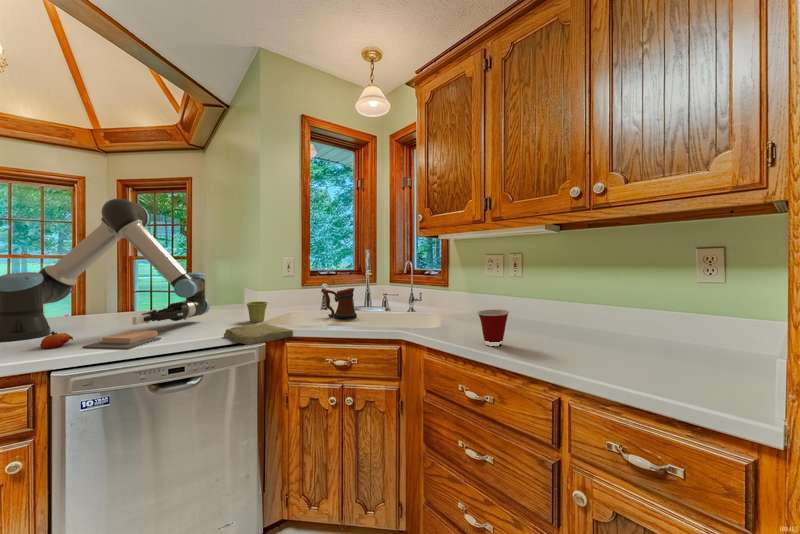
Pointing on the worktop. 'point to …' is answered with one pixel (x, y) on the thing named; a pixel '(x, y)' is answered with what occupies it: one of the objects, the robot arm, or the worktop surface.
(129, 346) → the charcoal mat
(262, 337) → the folded olive cloth
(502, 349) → the worktop surface
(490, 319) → the plastic cup
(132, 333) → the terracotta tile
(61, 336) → the sweet potato
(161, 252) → the robot arm
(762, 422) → the worktop surface
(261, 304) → the plant pot
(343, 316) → the mug
